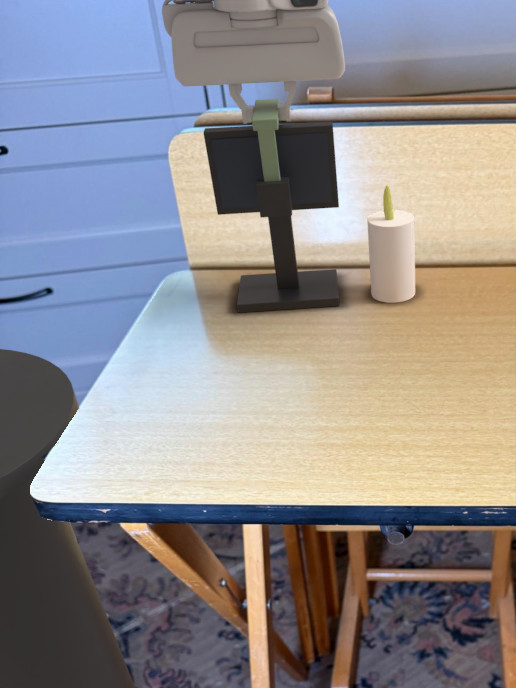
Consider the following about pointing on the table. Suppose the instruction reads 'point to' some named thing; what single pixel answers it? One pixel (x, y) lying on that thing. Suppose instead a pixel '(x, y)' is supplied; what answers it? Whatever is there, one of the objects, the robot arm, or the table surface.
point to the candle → (391, 253)
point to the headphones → (270, 162)
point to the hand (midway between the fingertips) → (267, 122)
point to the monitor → (306, 193)
